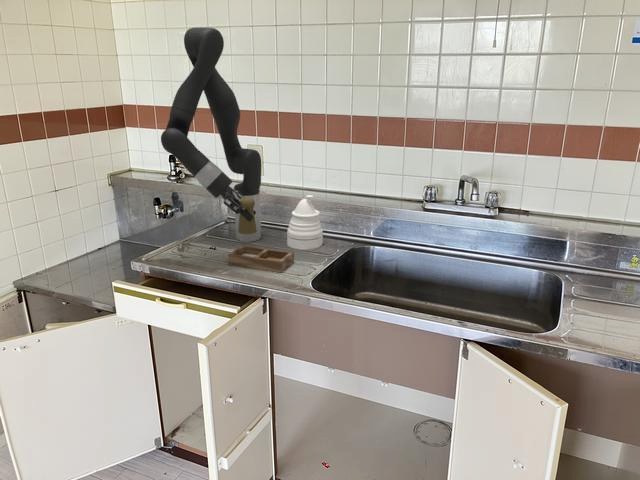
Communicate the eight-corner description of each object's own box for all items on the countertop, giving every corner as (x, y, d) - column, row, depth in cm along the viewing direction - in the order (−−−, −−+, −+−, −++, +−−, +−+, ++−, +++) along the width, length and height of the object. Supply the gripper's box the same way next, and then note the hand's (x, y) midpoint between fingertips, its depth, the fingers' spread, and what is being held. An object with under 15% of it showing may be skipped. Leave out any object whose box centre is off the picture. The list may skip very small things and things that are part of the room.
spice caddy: (243, 255, 173) (242, 245, 172) (293, 262, 167) (293, 252, 166) (228, 264, 165) (227, 254, 163) (281, 272, 158) (281, 262, 157)
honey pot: (329, 242, 187) (330, 194, 182) (309, 252, 177) (310, 201, 171) (300, 236, 194) (300, 189, 188) (280, 245, 184) (279, 196, 178)
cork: (257, 233, 161) (256, 199, 158) (237, 234, 161) (236, 200, 157) (256, 228, 167) (255, 195, 164) (237, 229, 166) (236, 196, 163)
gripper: (216, 175, 151) (258, 215, 155) (225, 167, 165) (263, 203, 169) (200, 192, 153) (241, 231, 157) (210, 182, 166) (248, 219, 170)
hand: (252, 217), depth 163 cm, fingers closed on cork, 4 cm apart
